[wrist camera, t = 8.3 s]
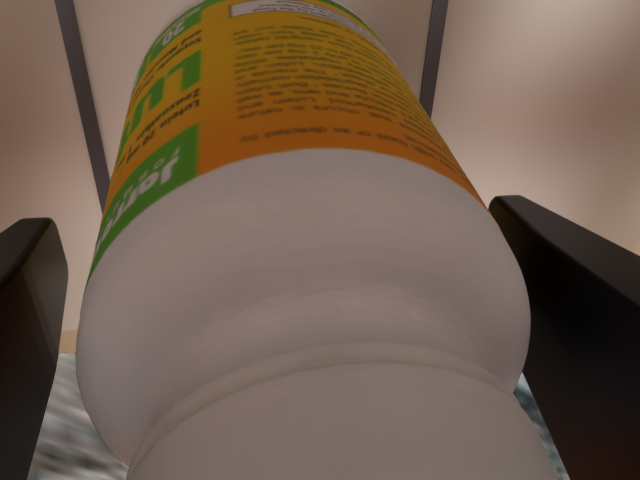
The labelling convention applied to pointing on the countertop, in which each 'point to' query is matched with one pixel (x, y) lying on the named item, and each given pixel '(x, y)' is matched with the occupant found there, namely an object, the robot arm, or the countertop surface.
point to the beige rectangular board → (412, 60)
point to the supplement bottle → (298, 268)
